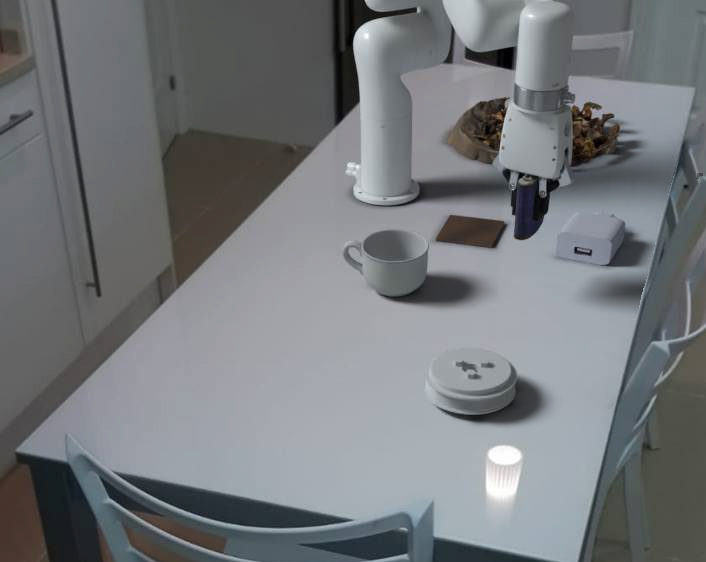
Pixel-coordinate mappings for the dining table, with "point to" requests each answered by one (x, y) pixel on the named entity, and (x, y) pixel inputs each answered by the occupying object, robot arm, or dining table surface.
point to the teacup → (391, 260)
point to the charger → (591, 237)
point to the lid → (470, 381)
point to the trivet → (470, 231)
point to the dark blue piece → (526, 207)
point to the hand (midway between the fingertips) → (528, 213)
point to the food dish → (487, 124)
